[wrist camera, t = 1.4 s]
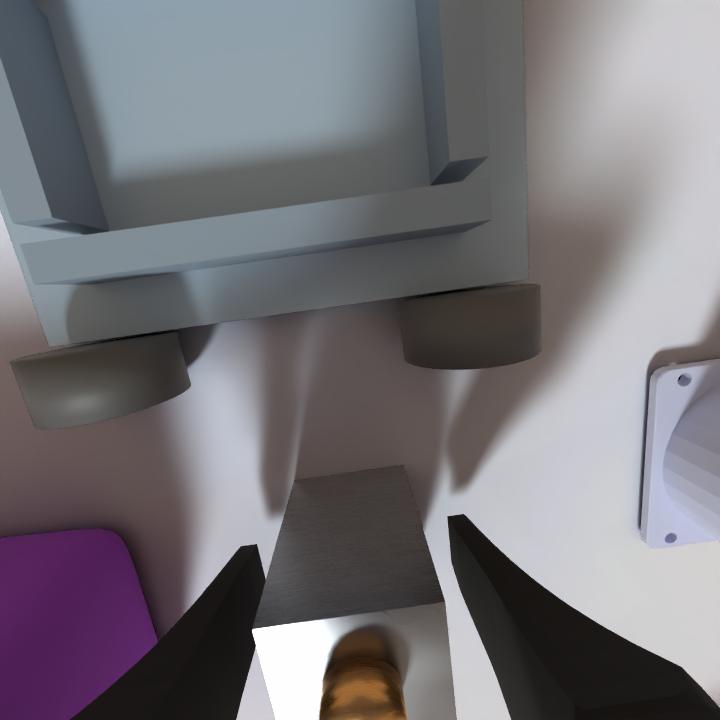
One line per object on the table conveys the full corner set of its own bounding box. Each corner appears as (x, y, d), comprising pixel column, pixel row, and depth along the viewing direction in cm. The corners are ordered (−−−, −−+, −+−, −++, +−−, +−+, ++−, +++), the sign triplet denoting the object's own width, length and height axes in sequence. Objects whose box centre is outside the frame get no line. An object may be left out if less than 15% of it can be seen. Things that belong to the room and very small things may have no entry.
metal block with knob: (403, 464, 13) (456, 637, 7) (414, 556, 14) (469, 785, 8) (294, 480, 13) (241, 668, 7) (312, 571, 14) (282, 812, 8)
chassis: (497, -253, 9) (615, -681, 5) (515, 331, 12) (592, 352, 8) (-99, -170, 9) (-458, -535, 5) (90, 391, 12) (-30, 441, 8)
